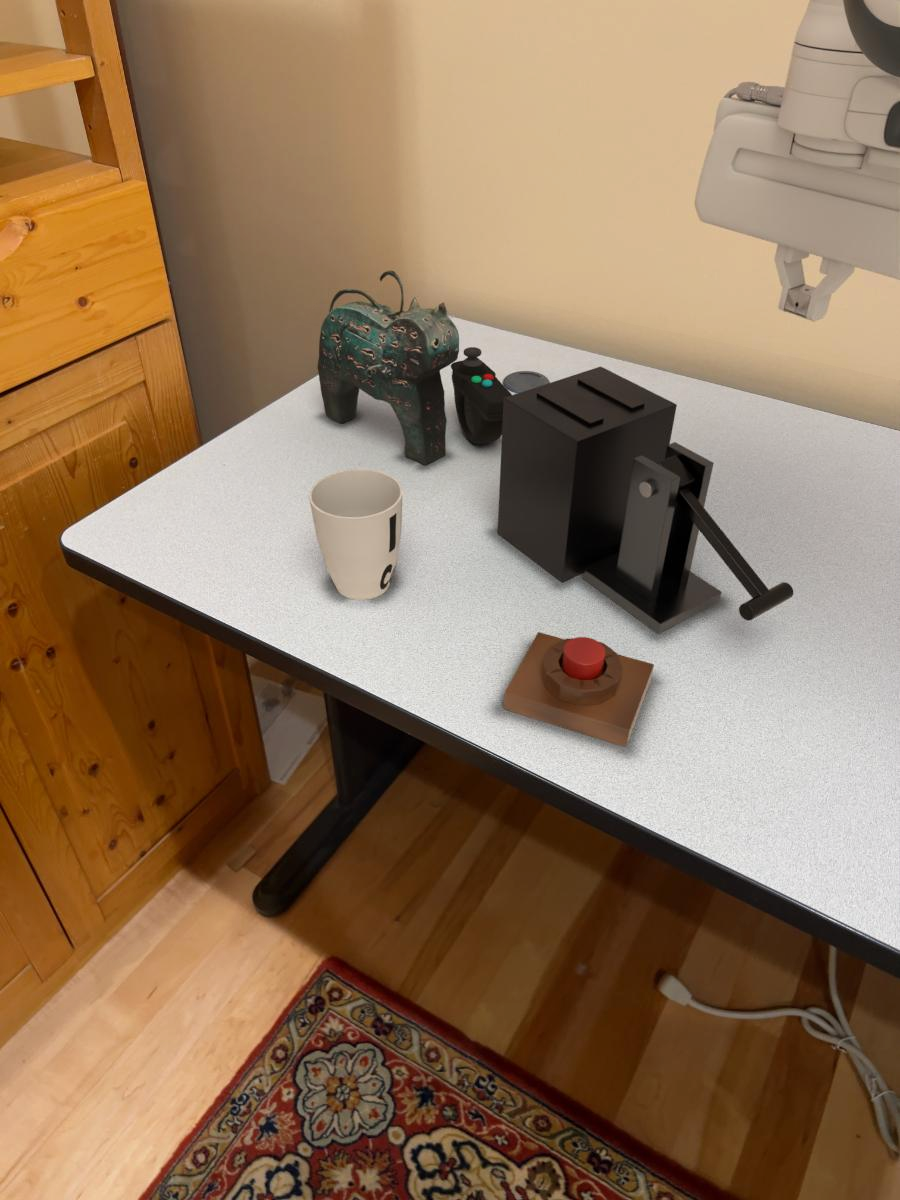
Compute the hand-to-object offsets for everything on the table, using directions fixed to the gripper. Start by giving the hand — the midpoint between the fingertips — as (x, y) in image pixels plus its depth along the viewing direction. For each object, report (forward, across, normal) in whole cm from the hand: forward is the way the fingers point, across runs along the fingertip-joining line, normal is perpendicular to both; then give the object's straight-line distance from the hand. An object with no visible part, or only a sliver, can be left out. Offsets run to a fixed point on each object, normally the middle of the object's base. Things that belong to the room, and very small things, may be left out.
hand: (801, 314), depth 64 cm
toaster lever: (+19, -1, -4) cm, 19 cm away
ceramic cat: (+27, -45, -8) cm, 53 cm away
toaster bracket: (+27, -6, -4) cm, 28 cm away
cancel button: (+24, +1, -19) cm, 31 cm away
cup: (+27, -22, -25) cm, 43 cm away
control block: (+27, 0, -19) cm, 33 cm away
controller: (+27, -37, +1) cm, 46 cm away
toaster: (+27, -16, -4) cm, 32 cm away
